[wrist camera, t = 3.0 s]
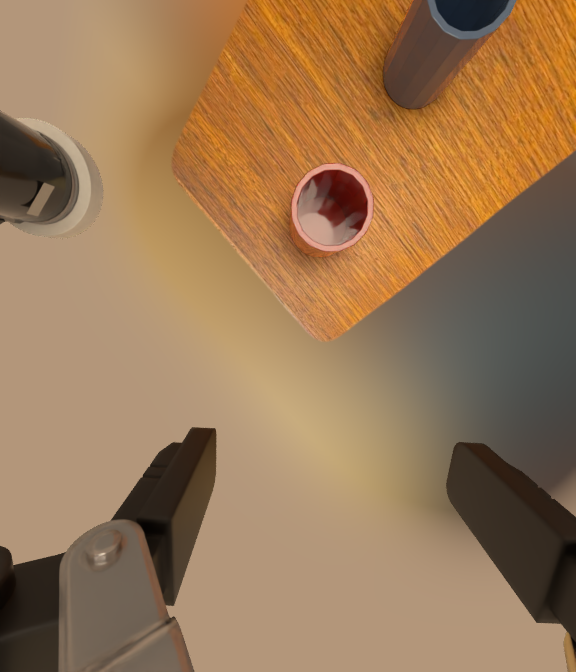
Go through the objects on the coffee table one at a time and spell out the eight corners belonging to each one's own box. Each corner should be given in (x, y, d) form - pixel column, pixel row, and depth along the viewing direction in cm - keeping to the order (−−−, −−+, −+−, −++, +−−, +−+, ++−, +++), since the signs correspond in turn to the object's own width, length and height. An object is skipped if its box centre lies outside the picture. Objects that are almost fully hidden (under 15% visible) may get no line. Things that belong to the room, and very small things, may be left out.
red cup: (303, 266, 32) (310, 264, 24) (279, 210, 31) (277, 186, 22) (357, 241, 32) (385, 230, 23) (335, 183, 31) (355, 147, 22)
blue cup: (395, 121, 29) (442, 56, 21) (373, 51, 28) (413, -50, 19) (457, 90, 29) (532, 11, 20) (437, 18, 27) (508, -102, 19)
